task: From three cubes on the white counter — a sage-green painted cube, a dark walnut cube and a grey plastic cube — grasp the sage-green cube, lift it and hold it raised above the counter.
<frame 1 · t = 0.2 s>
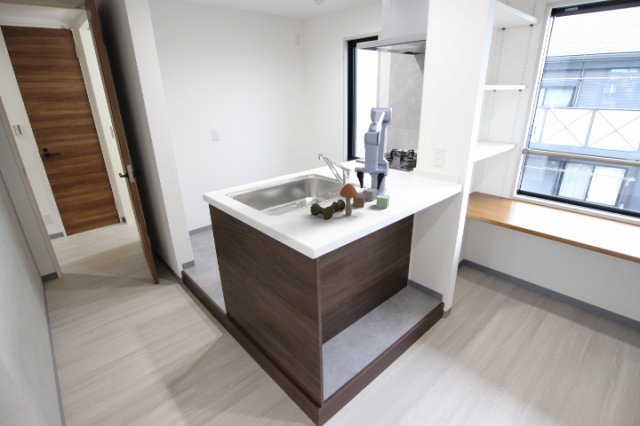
hand: (370, 188, 147), 10 cm above the worktop, tool pointing down, fingers open, 7 cm apart
walnut cube: (358, 205, 155), on the worktop
grey cube: (370, 199, 163), on the worktop
sage cube: (382, 206, 154), on the worktop
mushroom: (347, 215, 143), on the worktop
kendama: (327, 215, 145), on the worktop
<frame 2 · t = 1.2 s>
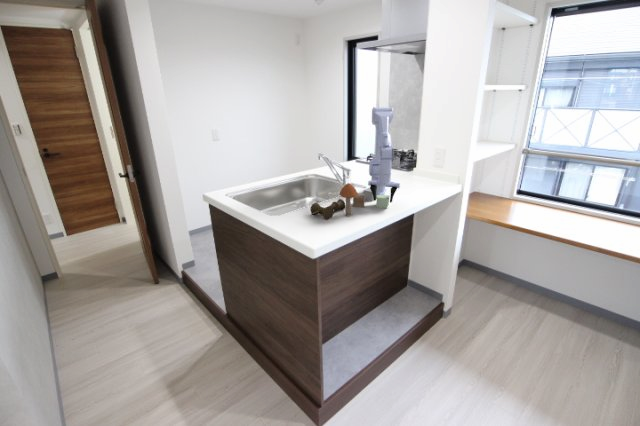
hand: (382, 200, 152), 3 cm above the worktop, tool pointing down, fingers open, 7 cm apart
nothing on the worktop moved.
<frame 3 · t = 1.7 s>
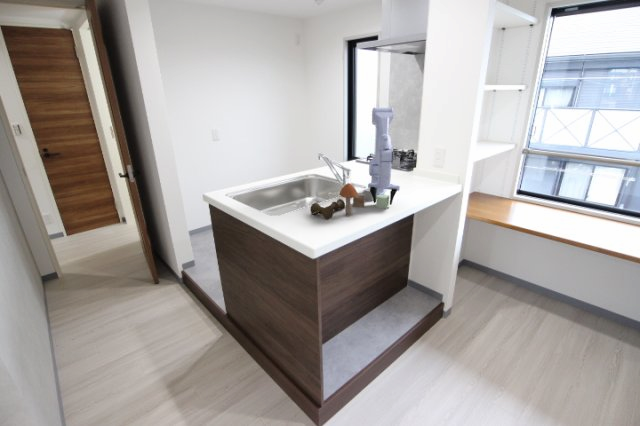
hand: (382, 203, 153), 1 cm above the worktop, tool pointing down, fingers open, 7 cm apart
nothing on the worktop moved.
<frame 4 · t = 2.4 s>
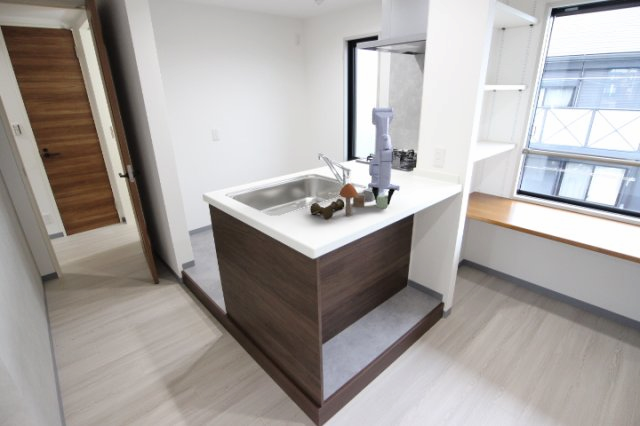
hand: (382, 203, 153), 1 cm above the worktop, tool pointing down, fingers closed on sage cube, 5 cm apart
sage cube: (382, 206, 153), on the worktop, touching gripper
everything else where it was.
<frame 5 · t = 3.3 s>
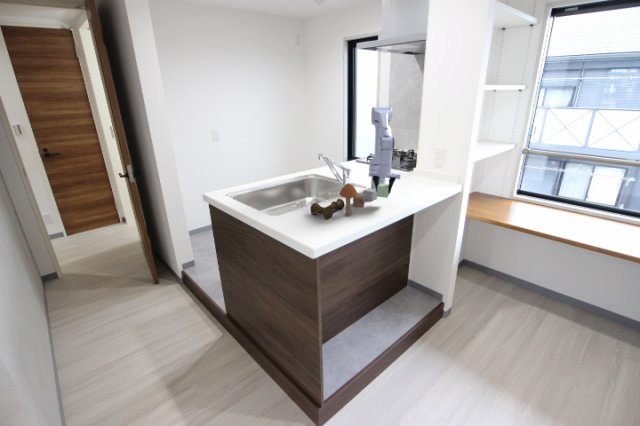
hand: (383, 192, 151), 7 cm above the worktop, tool pointing down, fingers closed on sage cube, 5 cm apart
sage cube: (383, 195, 152), point 5 cm above the worktop, touching gripper
everything else where it was.
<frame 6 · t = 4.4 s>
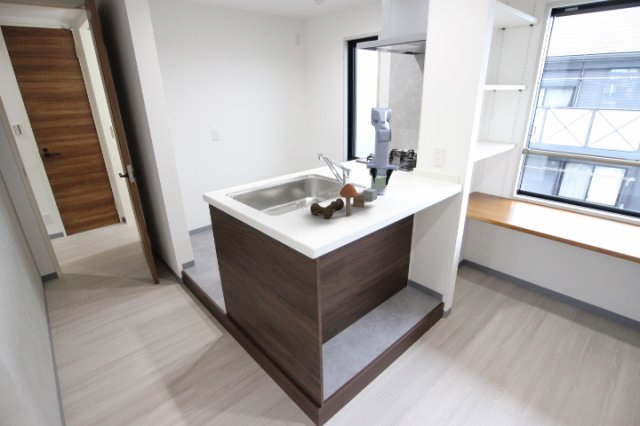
hand: (380, 184, 153), 10 cm above the worktop, tool pointing down, fingers closed on sage cube, 5 cm apart
sage cube: (380, 187, 154), point 8 cm above the worktop, touching gripper
everything else where it was.
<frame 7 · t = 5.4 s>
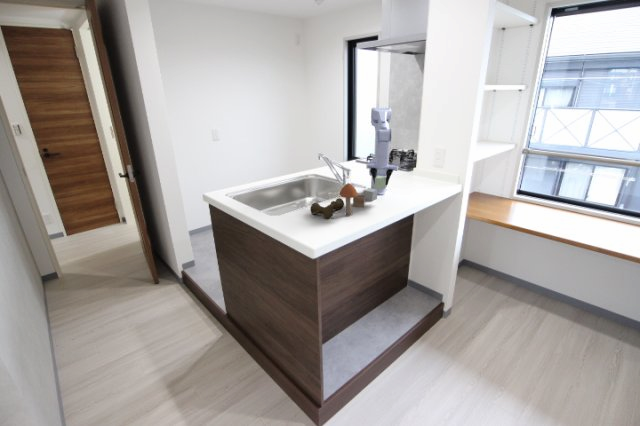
hand: (380, 184, 153), 10 cm above the worktop, tool pointing down, fingers closed on sage cube, 5 cm apart
sage cube: (380, 187, 154), point 8 cm above the worktop, touching gripper
everything else where it was.
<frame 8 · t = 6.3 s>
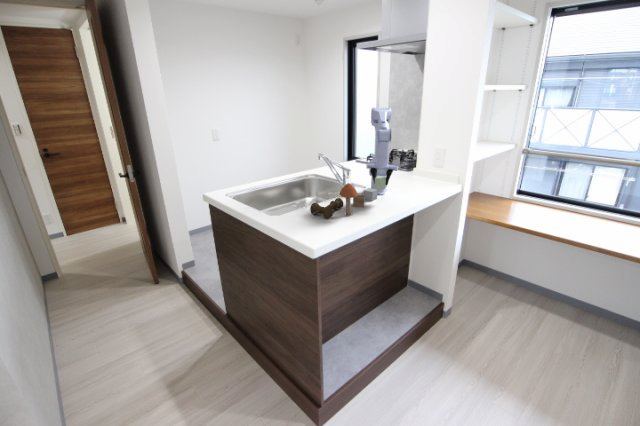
hand: (380, 184, 153), 10 cm above the worktop, tool pointing down, fingers closed on sage cube, 5 cm apart
sage cube: (380, 187, 154), point 8 cm above the worktop, touching gripper
at the end: the gripper is holding sage cube; sage cube point 8.2 cm above the worktop; grey cube moved 0.1 cm from its start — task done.
